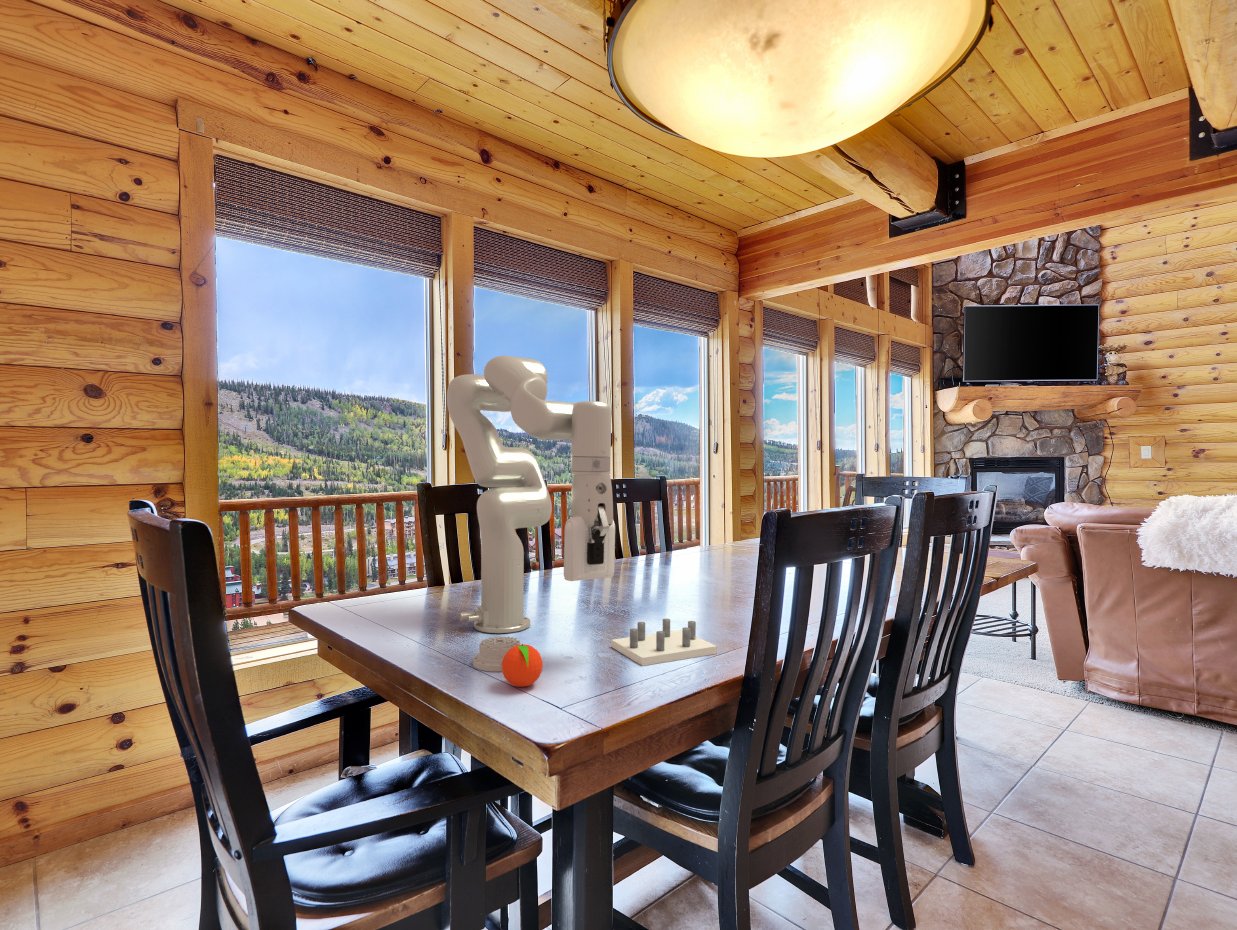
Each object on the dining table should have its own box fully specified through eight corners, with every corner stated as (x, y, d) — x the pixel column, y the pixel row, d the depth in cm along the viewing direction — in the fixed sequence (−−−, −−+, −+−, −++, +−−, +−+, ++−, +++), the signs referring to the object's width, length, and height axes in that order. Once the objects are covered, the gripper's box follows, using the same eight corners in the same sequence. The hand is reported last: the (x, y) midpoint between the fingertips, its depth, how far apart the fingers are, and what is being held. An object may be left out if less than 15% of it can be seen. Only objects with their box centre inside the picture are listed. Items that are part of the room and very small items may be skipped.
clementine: (548, 692, 107) (549, 650, 107) (506, 697, 105) (507, 654, 105) (537, 676, 115) (537, 636, 114) (498, 681, 112) (498, 640, 112)
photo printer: (605, 574, 128) (606, 511, 128) (617, 577, 125) (618, 514, 125) (560, 579, 123) (560, 514, 123) (571, 583, 119) (571, 516, 119)
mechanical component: (461, 666, 120) (501, 677, 115) (461, 643, 120) (501, 652, 115) (498, 652, 129) (537, 662, 123) (498, 630, 129) (537, 639, 123)
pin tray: (642, 665, 121) (642, 639, 121) (611, 647, 132) (611, 622, 132) (716, 653, 129) (717, 628, 128) (681, 636, 140) (681, 613, 140)
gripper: (628, 468, 118) (627, 567, 118) (590, 465, 133) (588, 553, 133) (591, 468, 114) (590, 570, 115) (555, 465, 129) (554, 556, 130)
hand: (589, 560), depth 124 cm, fingers closed on photo printer, 4 cm apart
